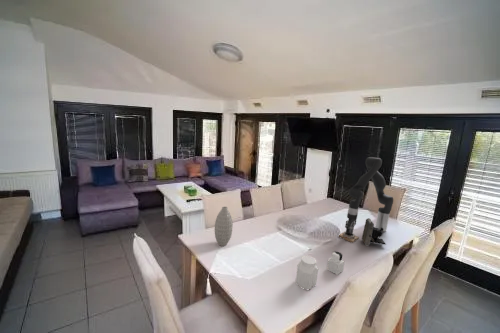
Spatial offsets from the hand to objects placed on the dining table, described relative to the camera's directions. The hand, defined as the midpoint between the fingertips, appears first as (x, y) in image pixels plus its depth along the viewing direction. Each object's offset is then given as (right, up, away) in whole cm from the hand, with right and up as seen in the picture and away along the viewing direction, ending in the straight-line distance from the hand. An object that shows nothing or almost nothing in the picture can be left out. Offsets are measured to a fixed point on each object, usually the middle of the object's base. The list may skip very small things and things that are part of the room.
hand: (349, 231), depth 193 cm
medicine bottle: (-29, -13, -45) cm, 55 cm away
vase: (-103, -3, -24) cm, 106 cm away
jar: (-51, -14, -59) cm, 79 cm away
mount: (0, -6, +1) cm, 6 cm away
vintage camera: (+16, -9, -7) cm, 19 cm away
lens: (0, -4, +1) cm, 4 cm away
